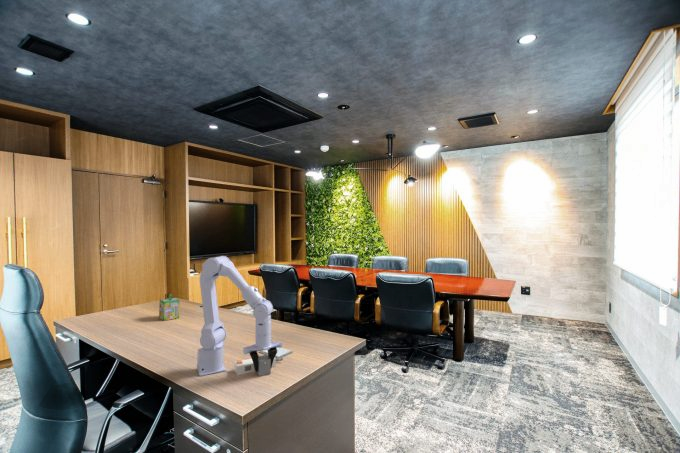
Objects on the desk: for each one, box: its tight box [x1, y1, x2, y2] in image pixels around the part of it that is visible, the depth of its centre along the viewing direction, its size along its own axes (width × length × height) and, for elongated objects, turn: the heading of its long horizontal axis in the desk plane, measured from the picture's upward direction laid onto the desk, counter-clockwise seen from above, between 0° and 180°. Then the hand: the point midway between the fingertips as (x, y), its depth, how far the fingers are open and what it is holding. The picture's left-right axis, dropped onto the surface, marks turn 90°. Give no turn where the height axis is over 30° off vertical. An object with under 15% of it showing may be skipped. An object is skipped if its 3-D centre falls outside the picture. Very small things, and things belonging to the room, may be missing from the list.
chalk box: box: [158, 293, 180, 321], centre depth 201 cm, size 9×9×15 cm
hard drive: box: [259, 347, 294, 359], centre depth 146 cm, size 2×8×12 cm
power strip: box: [233, 357, 284, 376], centre depth 130 cm, size 19×5×4 cm, turn 120°
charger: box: [256, 354, 272, 377], centre depth 126 cm, size 4×7×6 cm, turn 30°
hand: (263, 369), depth 125 cm, fingers open, 5 cm apart
